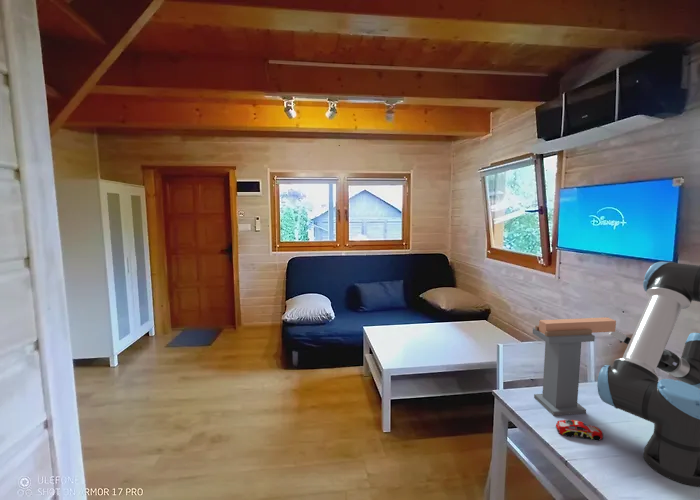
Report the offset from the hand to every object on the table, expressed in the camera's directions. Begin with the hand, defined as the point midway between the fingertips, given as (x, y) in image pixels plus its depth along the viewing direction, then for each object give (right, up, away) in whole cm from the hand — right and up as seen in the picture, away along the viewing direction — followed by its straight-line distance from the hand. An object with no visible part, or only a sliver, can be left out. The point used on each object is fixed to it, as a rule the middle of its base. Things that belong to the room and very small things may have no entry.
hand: (625, 337), depth 137 cm
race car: (-26, -28, -15) cm, 41 cm away
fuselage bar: (-19, +3, -2) cm, 19 cm away
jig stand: (-23, -25, +1) cm, 34 cm away
